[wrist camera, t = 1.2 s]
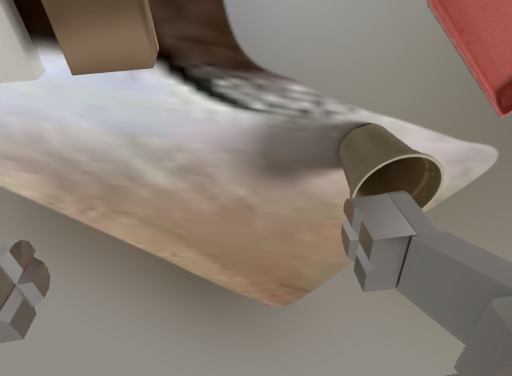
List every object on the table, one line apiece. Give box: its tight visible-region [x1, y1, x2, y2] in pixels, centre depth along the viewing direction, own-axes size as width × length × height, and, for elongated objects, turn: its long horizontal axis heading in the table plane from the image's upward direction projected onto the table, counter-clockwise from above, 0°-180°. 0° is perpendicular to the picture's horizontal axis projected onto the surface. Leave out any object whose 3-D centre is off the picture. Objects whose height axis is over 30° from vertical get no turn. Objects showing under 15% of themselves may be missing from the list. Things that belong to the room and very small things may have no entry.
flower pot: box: [339, 124, 445, 210], centre depth 35 cm, size 9×9×9 cm
